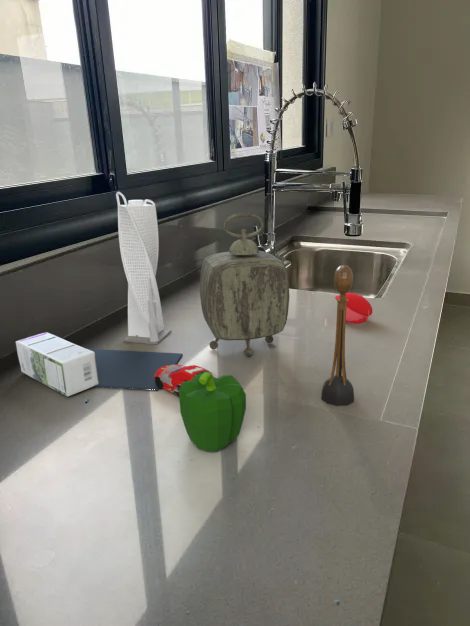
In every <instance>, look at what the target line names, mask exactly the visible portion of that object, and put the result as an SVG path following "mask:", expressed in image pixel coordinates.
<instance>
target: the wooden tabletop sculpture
mask: <svg viewBox="0 0 470 626" xmlns="http://www.w3.org/2000/svg"><path fill="white" fill-rule="evenodd" d="M333 276H334V278H333V285H334V288H335V290H336V292H337V293H339V295H340V298H339V299H337V300H336V302H337V303H336V304H337V307H336V325H335V326H336V327H335V344H334V350H333V351H334V353H333V360H332V367H331V373H330V377H329V378H328V379H326V380H325V381H324V382H323V385H322V388H321V400H322V401H323V402H324V403H326V404H327V405H332V406H335V407H342V406H343V407H344V406H349V405H351V404H352V403H354V402H355V391H354V386H353V384H352V382H351V381H350V380H349V379H348V378H347V377H348V376H347V372H346V371H347V370H346V323H347V322H346V306H347V302H348V299H346V293H350V291H351V289H352V287H353V284H354V272H353V269H352V268H351V267H350V266H349V265H348V264H340V265H339V266H338V267H337V268H336V269H335V272H334V275H333Z"/></svg>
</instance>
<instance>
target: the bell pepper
mask: <svg viewBox="0 0 470 626" xmlns="http://www.w3.org/2000/svg"><path fill="white" fill-rule="evenodd" d="M211 373H212V372H211ZM211 373H209V372H205V373H203V374H202V373H199V374H198V375H196V376H195V377H194V378H192V379H191V380H190V381H187V382H182V384H181V386H180V389H179V396H178V398H179V411H180V416H181V419H182V422H183V426H184V428H185V431H186V434H187V435H188V438H189V440H190V442H192V443H193V445H194V446H195V447H196V448H197V450H200V451H204V452H210V453H211V452H219V451H221V450H222V449H225V448H226V447H227V446H228V444H229V443H233V442H234V441H235V440H236V439H237V438H238V436H239V435H240V434H241V430H242V426H243V423H244V419H245V414H246V410H247V404H246V403H247V394H246V392H245V389H244V388H243V386H242V385H241V382H239V381H238V380H237V379H236V378H235V376H234V375H232V374H224V375H220V376H219V378H215V377H213V375H212V374H211Z"/></svg>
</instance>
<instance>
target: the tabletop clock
mask: <svg viewBox="0 0 470 626" xmlns="http://www.w3.org/2000/svg"><path fill="white" fill-rule="evenodd" d="M242 217H243V218H245V217H251V218H254V219H256V220H258V221H259V223H260V228H259V229H257V230H256V231H253V232H249V233H248V230H247V229H246V228H243V229H241V230H240V233H234V232H231V231H229V230H228V229H227V225H228V224H229V222H231V221H232V220H234V219H236V218H242ZM264 228H265V223H264V220H263V219H262V217H260V215H259V214H256V213H254V212H248V211H247V212H245V211H243V212H237V213H234V214H232V215H230V216H228V217H227V218H226V219H225V221H224V223H223V231H224V232H225V234H227V236H230V237H232V238H235V239H237V240H235V241H234V242H233V243H231V246H230V247H229V250H228V251H223V252H218V253H216V252H215V253H214V254H211V255H208V256H207V257H205V258H204V260H203V261H202V265H201V269H200V276H199V277H200V279H199V296H200V297H199V298H200V306H201V311H202V315H203V316H202V317H203V319H204V321H205V322H206V324H207V326H208V328H209V330H210V331H211V333H212V334H213V336H214V338H215V339H214V340H210V342H209V343H208V345H209V349H211V350H216V349H218V347H219V343H218V342H219V341H220V340H222V341H245V344H246V345H245V346H246V348H245V349H243V352H244V355H245V356H246V357H252V356H253V355H254V350H253V348H251V340H256V339H257V340H258V339H263V338H264V341H265V343H266V344H272V343H273V341H274V336H275V335H278V334H280V332H284V329H285V327H286V324H287V320H288V315H289V309H290V308H289V307H290V297H291V296H290V280H289V274H288V269H287V266H286V264H285V261H283V260H281V259H280V258H278V257H276V256H275V255H273V254H272V253H269V252H266V251H265V250H264V251H263V250H260V249H259V247H258V245H257V244H256V242H255V241H254V240H252V239H248V238H253V237H255V236H257V235H259V234H260V233H262V232H263V230H264Z"/></svg>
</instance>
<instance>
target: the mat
mask: <svg viewBox="0 0 470 626" xmlns="http://www.w3.org/2000/svg"><path fill="white" fill-rule="evenodd" d="M87 349H88V350H91V351H93V352H94V353H95V361H96V367H97V375H98V382H99V384H98V385H95V386H93V387H92V388H101V387H104V389H117V388H131V389H130V390H132V388H133V389H151V390H152V389H153V390H154V389H155V390H159V388H158V387H157V386H156V383H155V381H154V376H155V373H156V372H157V370H158V369H159V368H161V367H163V366H167V365H178V364H179V362H180V360H181V359H182V357H183V353H179V352H161V351H159V352H158V351H141V350H140V351H139V350H121V349H104V348H103V349H102V348H87ZM105 387H106V388H105ZM111 387H112V388H111ZM159 391H160V390H159Z"/></svg>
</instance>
